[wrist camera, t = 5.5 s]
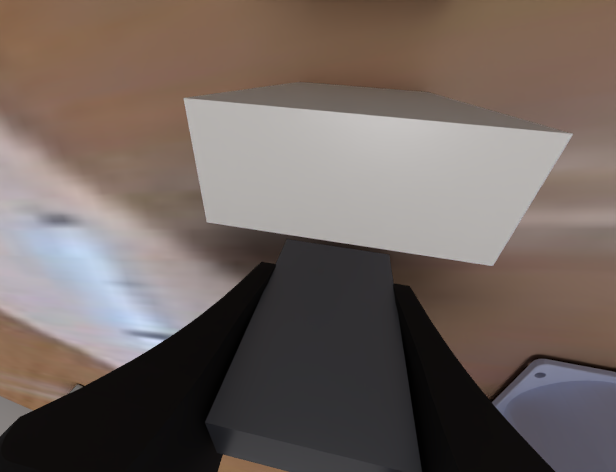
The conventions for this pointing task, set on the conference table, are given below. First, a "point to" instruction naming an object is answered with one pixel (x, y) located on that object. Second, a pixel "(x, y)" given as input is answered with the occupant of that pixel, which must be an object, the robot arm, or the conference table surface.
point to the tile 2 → (369, 167)
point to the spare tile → (320, 370)
